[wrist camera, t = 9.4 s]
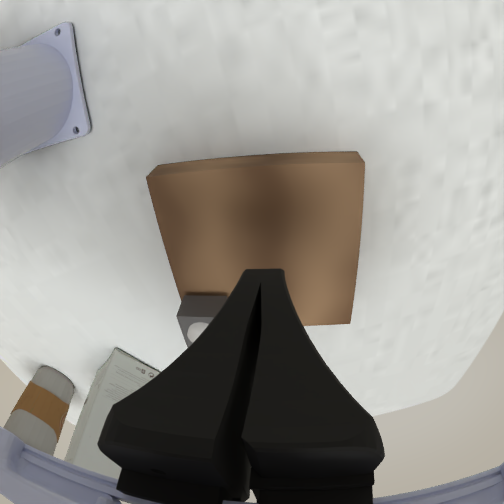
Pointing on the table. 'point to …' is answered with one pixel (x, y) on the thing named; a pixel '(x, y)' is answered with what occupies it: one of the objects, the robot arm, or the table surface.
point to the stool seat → (265, 225)
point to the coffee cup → (42, 410)
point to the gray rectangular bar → (197, 314)
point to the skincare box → (105, 410)
